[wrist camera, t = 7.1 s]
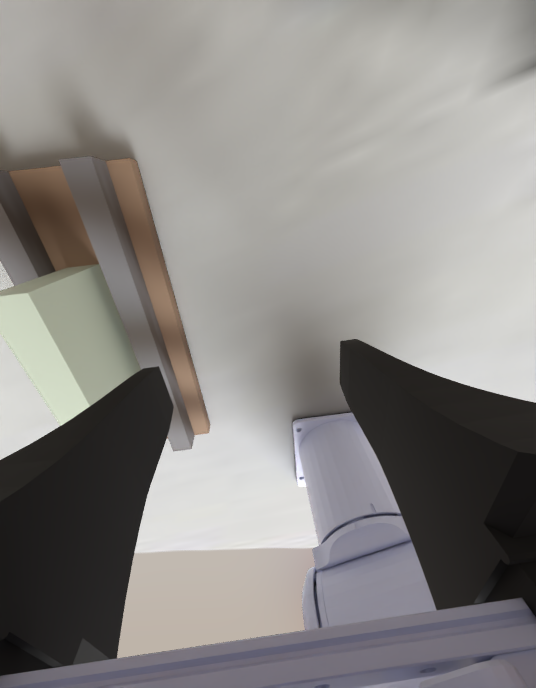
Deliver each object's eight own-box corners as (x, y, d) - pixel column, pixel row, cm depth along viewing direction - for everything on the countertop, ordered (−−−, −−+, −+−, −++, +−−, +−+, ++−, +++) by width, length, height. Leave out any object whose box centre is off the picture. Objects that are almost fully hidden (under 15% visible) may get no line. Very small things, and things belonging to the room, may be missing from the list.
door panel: (151, 393, 21) (118, 458, 15) (125, 396, 21) (84, 462, 15) (99, 263, 16) (27, 293, 11) (66, 267, 16) (-23, 299, 11)
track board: (210, 424, 24) (206, 446, 22) (111, 437, 24) (97, 461, 22) (136, 161, 15) (117, 153, 12) (-29, 179, 14) (-78, 174, 12)
